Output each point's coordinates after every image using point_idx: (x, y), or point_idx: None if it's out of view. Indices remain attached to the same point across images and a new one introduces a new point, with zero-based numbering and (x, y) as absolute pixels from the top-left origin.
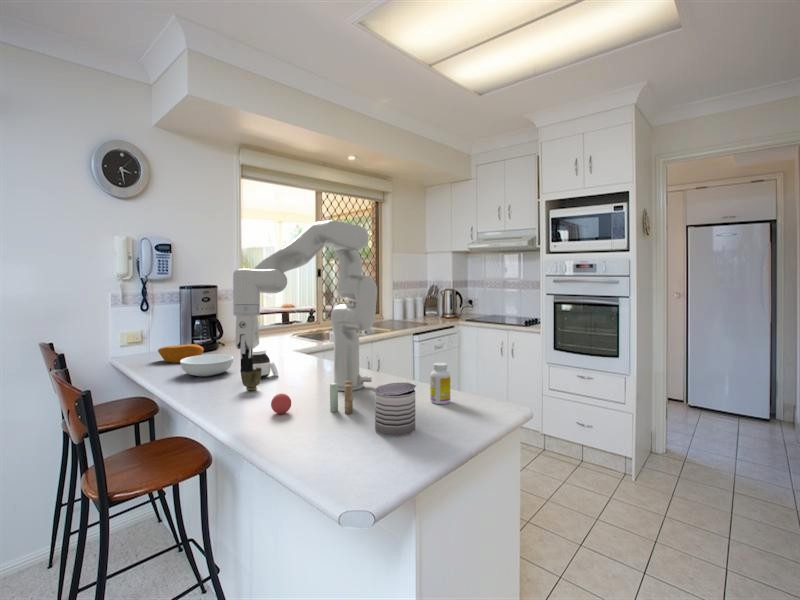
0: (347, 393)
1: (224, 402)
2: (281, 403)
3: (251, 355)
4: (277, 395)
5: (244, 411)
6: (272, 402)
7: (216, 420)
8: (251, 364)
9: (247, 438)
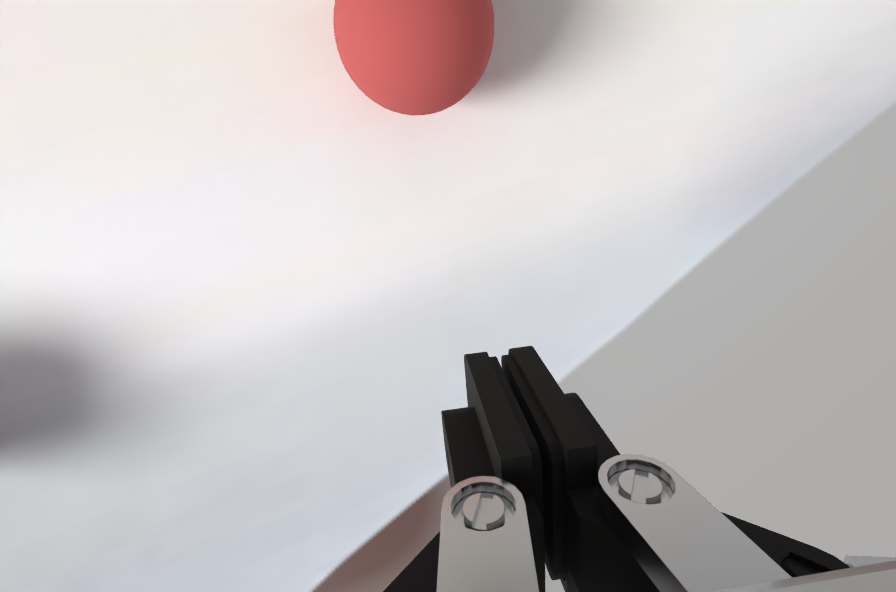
0: None
1: (203, 471)
2: (491, 4)
3: (522, 505)
4: (444, 46)
5: (369, 301)
6: (465, 91)
7: None
8: (560, 388)
9: (791, 137)
